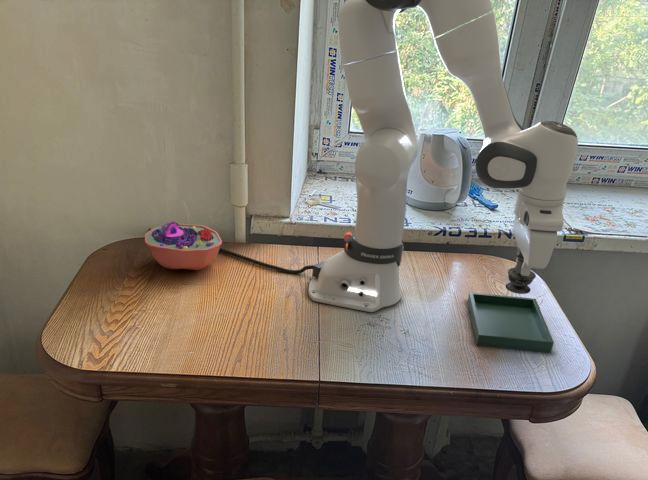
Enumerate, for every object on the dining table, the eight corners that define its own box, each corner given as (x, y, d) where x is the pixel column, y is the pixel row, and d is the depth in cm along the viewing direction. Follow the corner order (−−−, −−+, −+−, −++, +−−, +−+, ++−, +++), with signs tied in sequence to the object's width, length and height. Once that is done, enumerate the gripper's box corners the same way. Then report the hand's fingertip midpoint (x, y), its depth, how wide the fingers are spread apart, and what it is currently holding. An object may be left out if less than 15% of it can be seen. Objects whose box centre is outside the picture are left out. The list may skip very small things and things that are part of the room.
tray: (476, 345, 129) (478, 334, 127) (467, 301, 145) (469, 292, 144) (550, 352, 127) (553, 342, 126) (532, 308, 144) (535, 298, 142)
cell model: (199, 289, 144) (197, 245, 138) (132, 270, 151) (127, 227, 144) (236, 262, 157) (235, 222, 151) (173, 246, 164) (169, 206, 157)
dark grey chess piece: (533, 296, 128) (547, 243, 121) (505, 292, 129) (517, 240, 122) (530, 283, 133) (544, 233, 126) (503, 280, 134) (515, 230, 127)
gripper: (513, 189, 130) (500, 248, 137) (531, 224, 113) (515, 289, 120) (543, 191, 129) (528, 251, 137) (566, 227, 112) (547, 292, 120)
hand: (522, 269), depth 128 cm, fingers closed on dark grey chess piece, 3 cm apart
